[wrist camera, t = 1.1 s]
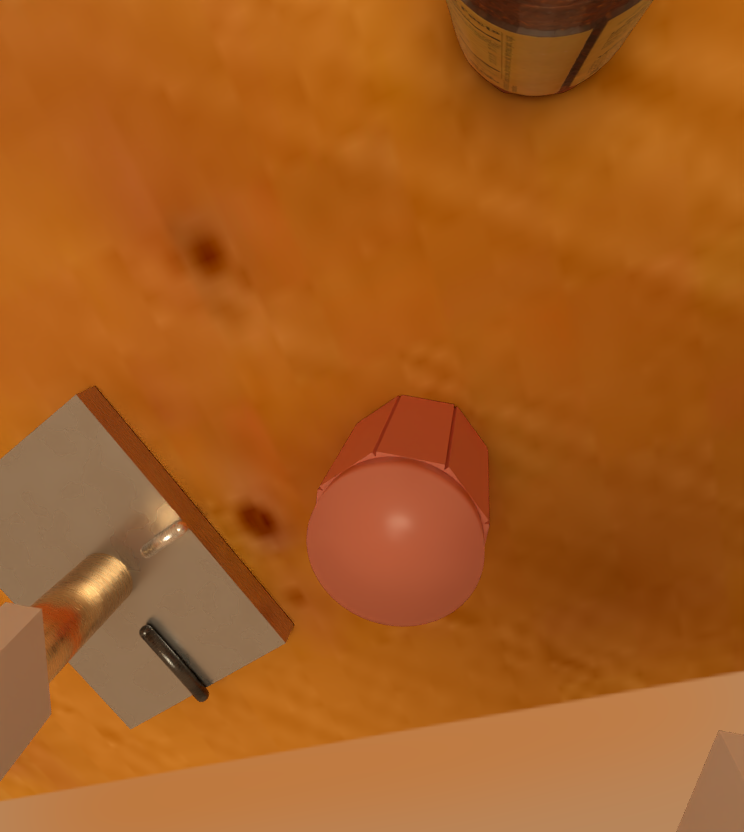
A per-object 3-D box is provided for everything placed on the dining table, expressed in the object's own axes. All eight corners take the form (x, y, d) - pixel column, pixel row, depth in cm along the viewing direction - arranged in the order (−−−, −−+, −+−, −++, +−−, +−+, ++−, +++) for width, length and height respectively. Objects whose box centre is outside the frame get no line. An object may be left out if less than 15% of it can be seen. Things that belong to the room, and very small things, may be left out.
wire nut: (511, 480, 28) (520, 577, 21) (402, 543, 30) (376, 652, 23) (432, 372, 27) (413, 433, 20) (326, 444, 29) (272, 524, 22)
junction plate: (302, 628, 33) (236, 783, 24) (148, 715, 37) (42, 875, 28) (98, 383, 30) (-62, 455, 22) (-44, 503, 34) (-228, 606, 25)
